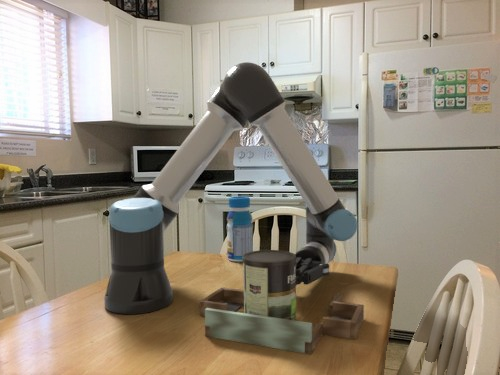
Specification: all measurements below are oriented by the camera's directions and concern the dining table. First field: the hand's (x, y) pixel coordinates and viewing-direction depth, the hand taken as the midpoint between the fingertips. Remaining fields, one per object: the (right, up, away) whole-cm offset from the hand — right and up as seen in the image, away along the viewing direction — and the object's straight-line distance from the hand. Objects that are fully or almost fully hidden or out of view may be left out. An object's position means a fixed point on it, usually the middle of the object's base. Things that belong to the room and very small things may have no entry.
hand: (281, 287), depth 86 cm
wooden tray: (0, -6, 0) cm, 6 cm away
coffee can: (-3, -7, -4) cm, 8 cm away
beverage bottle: (-10, -3, +50) cm, 51 cm away
